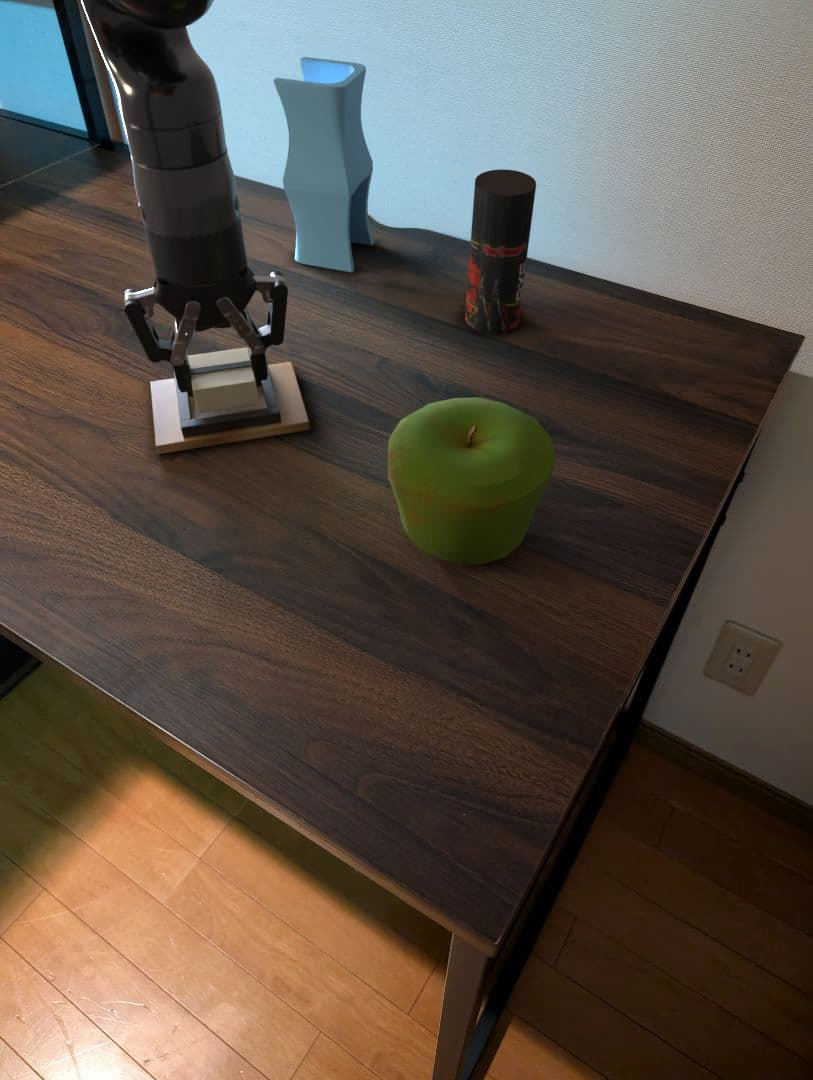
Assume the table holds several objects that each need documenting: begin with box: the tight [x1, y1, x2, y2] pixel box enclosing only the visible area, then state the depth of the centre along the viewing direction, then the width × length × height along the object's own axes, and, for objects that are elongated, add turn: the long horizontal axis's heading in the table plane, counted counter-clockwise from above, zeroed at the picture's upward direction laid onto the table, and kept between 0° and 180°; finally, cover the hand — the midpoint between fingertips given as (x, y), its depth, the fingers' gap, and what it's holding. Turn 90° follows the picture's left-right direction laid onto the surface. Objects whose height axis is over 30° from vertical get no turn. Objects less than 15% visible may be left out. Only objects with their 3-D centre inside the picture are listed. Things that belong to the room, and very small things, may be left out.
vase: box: [273, 56, 375, 273], centre depth 91 cm, size 8×8×20 cm
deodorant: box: [464, 169, 537, 334], centre depth 83 cm, size 6×6×15 cm
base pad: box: [149, 358, 311, 455], centre depth 76 cm, size 14×10×2 cm
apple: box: [386, 396, 557, 565], centre depth 62 cm, size 12×12×11 cm
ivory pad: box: [188, 346, 259, 413], centre depth 74 cm, size 6×6×3 cm
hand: (224, 386), depth 75 cm, fingers closed on ivory pad, 5 cm apart
